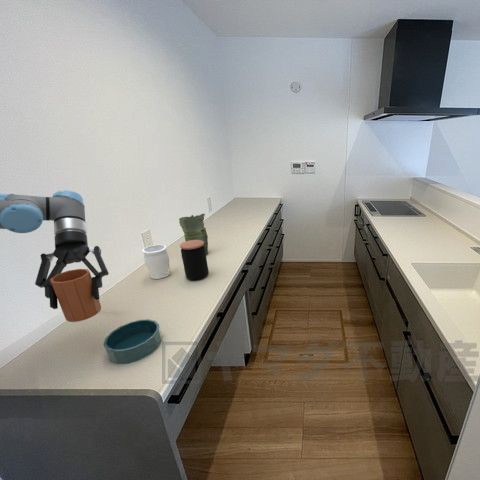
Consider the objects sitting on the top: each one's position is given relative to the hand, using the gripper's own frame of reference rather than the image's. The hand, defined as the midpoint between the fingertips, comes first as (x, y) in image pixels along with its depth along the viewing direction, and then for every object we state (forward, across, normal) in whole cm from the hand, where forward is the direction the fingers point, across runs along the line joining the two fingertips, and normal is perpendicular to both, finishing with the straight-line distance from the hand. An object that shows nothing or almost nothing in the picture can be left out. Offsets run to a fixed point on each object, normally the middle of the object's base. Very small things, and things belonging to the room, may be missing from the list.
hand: (75, 302), depth 77 cm
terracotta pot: (+2, 0, -6) cm, 7 cm away
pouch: (-34, -40, -63) cm, 82 cm away
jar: (-21, -20, -50) cm, 58 cm away
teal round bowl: (+16, -11, -13) cm, 23 cm away
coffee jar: (-14, -36, -43) cm, 58 cm away
